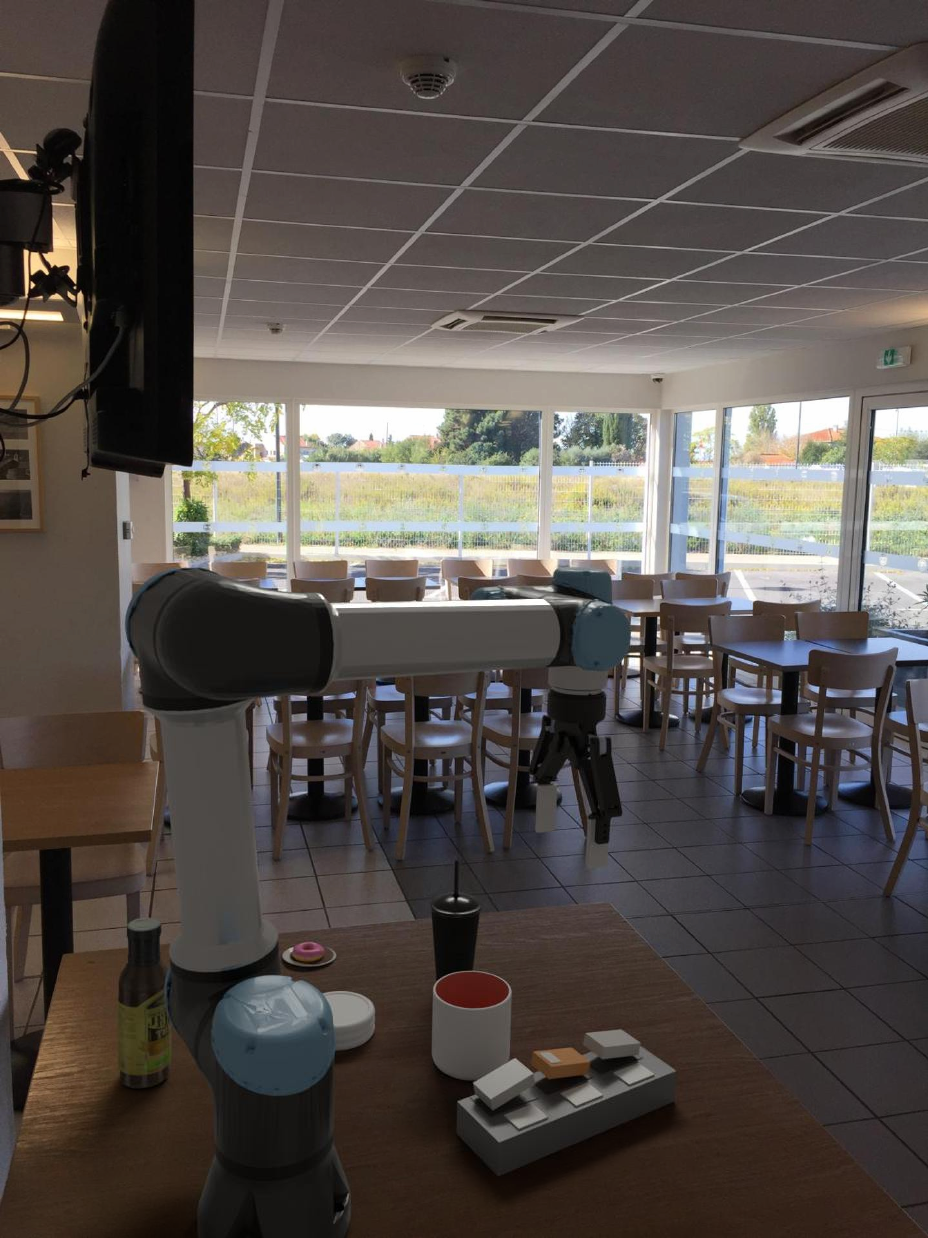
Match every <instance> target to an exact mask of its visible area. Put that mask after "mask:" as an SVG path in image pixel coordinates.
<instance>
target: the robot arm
mask: <svg viewBox="0 0 928 1238" xmlns="http://www.w3.org/2000/svg"><path fill="white" fill-rule="evenodd" d="M612 581H613V580H612V576H611V574H610V572H609V571H607V570H606V569H602V568H601V569H600V568H594V567H582V566H581V567H580V566H578V567H577V566H565V567H557V568H556V569H555V570H554V571H553V575H552V580H551V583H550V584H546V585H500V584H497V585H496V586H489V587H487V586H486V587H480V588H477V589H476V590H474V591H473V593H472V594H471V595H470V596H469V598H468V599H467V600H466V599H465V600H461V599H460V600H420V601H419V600H417V601H416V600H415V601H410V600H408V601H406V600H405V601H369V602H368V601H367V602H366V601H363V602H360V601H359V602H358V601H357V602H329V601H328V599H326V598H325V596H324V595H322V594H321V593H319V592H291V591H284V590H283V591H282V590H276V589H270V588H266V587H261V586H258V585H253V584H250V583H246V582H243V581H240V580H238V579H234V578H230V577H227V576H224V575H221V574H219V573H217V572H215V571H214V570H211V569H208V568H204V567H186V566H185V567H174V568H169V569H167V570H164V571H161V572H159V573H156V574H155V575H153V576H152V577H150V578H148V579H147V580H146V581H145V582H144V583H142V584H141V586H139V587H138V589H137V590H136V591H135V592H134V594H133V596H132V597H131V599H130V601H129V604H128V606H127V610H126V613H125V619H124V629H125V635H126V641H127V643H128V648H130V650H131V652H132V654H133V655H134V656H135V658H136V659H137V663H138V672H139V683H140V690H141V691H140V692H141V700H142V707H143V708H144V709H145V711H147V712H148V713H150V714H151V715H153V716H154V717H155V718H156V719H158V721H159V723H160V735H161V741H162V743H161V744H162V751H163V752H162V753H163V760H164V761H163V763H164V773H165V782H166V790H167V791H166V792H167V800H168V801H167V802H168V809H169V811H168V812H169V820H170V830H171V839H172V848H173V851H172V852H173V860H174V870H175V880H176V881H175V882H176V888H177V889H176V890H177V899H178V900H177V901H178V909H179V917H180V928H181V929H180V930H181V931H180V932H179V933H178V934H177V936H176V937H174V938H173V940H172V941H171V943H170V946H169V948H168V955H169V956H168V957H169V967H168V968H167V969H168V971H167V975H166V978H165V985H164V998H165V1004H166V1009H167V1013H168V1017H169V1019H170V1022H171V1027H172V1028H173V1029H174V1031H175V1032H176V1034H177V1035H178V1036H179V1037H180V1038H181V1040H182V1041H183V1042H184V1044H185V1046H186V1048H187V1049H188V1052H189V1053H190V1054H191V1056H192V1058H193V1060H194V1062H195V1063H196V1065H197V1067H198V1069H199V1070H200V1072H201V1073H202V1076H203V1078H204V1079H205V1081H206V1082H207V1084H208V1086H209V1088H210V1091H211V1093H212V1098H213V1107H214V1108H213V1109H214V1110H213V1112H214V1113H213V1116H214V1117H213V1118H214V1119H213V1120H214V1156H213V1159H212V1162H211V1165H210V1167H209V1171H208V1173H207V1175H206V1176H207V1177H206V1180H205V1182H204V1186H203V1188H202V1192H201V1195H200V1198H199V1200H198V1207H197V1217H196V1218H197V1219H196V1220H197V1238H345V1236H346V1234H347V1231H348V1230H349V1227H350V1223H351V1216H352V1215H351V1214H352V1213H351V1204H352V1203H351V1202H352V1201H351V1199H352V1197H351V1189H350V1186H349V1185H350V1184H349V1181H348V1180H347V1176H346V1174H345V1171H344V1169H343V1165H342V1163H341V1160H340V1156H339V1155H338V1151H337V1149H336V1146H335V1143H334V1123H335V1122H334V1115H335V1114H334V1112H335V1111H334V1110H335V1109H334V1107H335V1105H334V1104H335V1054H336V1051H335V1047H336V1033H335V1031H334V1025H333V1015H332V1010H331V1007H330V1005H329V1003H328V1001H327V999H326V998H325V996H324V995H323V993H322V992H321V991H320V990H319V989H318V988H317V987H315V986H314V985H312V984H311V983H309V982H307V981H305V980H302V979H300V980H297V981H294V978H293V977H292V976H287V975H283V974H282V965H281V955H280V954H281V953H280V943H279V934H278V930H277V927H275V925H273V924H272V923H271V922H269V921H267V920H266V919H265V918H263V911H262V910H263V909H262V907H263V906H262V900H261V899H262V897H261V888H260V887H261V885H260V874H259V864H258V862H259V861H258V850H257V840H256V829H255V828H256V827H255V818H254V816H255V814H254V805H253V793H252V782H251V781H252V780H251V771H250V770H251V769H250V758H249V746H248V734H247V733H248V732H247V725H246V723H247V722H246V710H247V709H248V707H249V706H250V705H251V704H252V702H253V701H254V700H255V699H264V698H276V697H285V696H296V695H306V694H320V693H322V692H324V691H326V690H327V688H328V687H329V686H330V685H331V684H332V683H333V682H339V681H342V682H343V681H351V680H352V681H354V680H355V681H356V680H369V679H370V680H371V679H383V678H384V679H387V678H400V677H416V676H427V675H429V676H432V675H444V674H461V673H475V672H476V673H477V672H490V671H503V670H504V671H506V670H520V669H521V670H523V669H535V668H536V669H537V668H538V669H539V668H548V679H547V681H548V682H547V684H548V685H549V687H550V686H551V687H550V688H549V689H548V690H547V701H546V702H547V704H546V714H543V715H542V716H541V717H542V719H541V729H540V731H539V736H538V738H537V741H536V744H535V748H534V750H533V753H532V757H531V760H530V763H529V766H528V773H529V775H530V776H534V777H533V778H534V783H535V784H536V804H535V805H536V806H535V822H534V823H535V827H534V831H535V832H536V833H537V834H539V833H546V832H547V833H548V832H556V820H557V801H558V800H557V799H558V784H557V783H556V782H559V779H558V777H557V776H558V774H559V773H560V771H561V769H562V768H563V766H564V765H565V763H566V761H567V760H568V761H570V762H571V763H572V766H573V768H574V769H575V770H577V771H578V773H579V777H580V780H581V783H582V787H583V789H584V792H585V795H586V799H587V803H588V806H589V808H590V813H589V814H588V816H587V825H586V826H587V828H586V830H587V831H586V844H585V845H586V848H585V865H584V866H585V868H587V869H589V870H590V869H596V868H597V869H598V868H603V867H604V868H605V867H608V862H609V861H608V859H609V858H608V857H609V856H608V855H609V843H610V838H611V837H610V835H611V833H610V832H611V820H612V818H620V817H622V816H623V808H622V807H623V806H622V803H621V797H620V791H619V786H618V781H617V776H616V771H615V766H614V761H613V757H612V756H613V755H612V752H613V751H612V739H611V736H609V735H608V736H607V735H605V736H598V732H597V725H598V724H600V723H601V722H603V721H604V720H606V719H605V718H606V713H607V698H608V697H607V696H608V695H607V693H606V691H605V690H604V689H606V687H607V686H608V671H610V670H612V669H614V668H615V667H617V666H618V665H620V663H622V661H623V660H624V659H625V658H626V656H627V654H628V651H629V649H630V646H631V638H632V636H631V635H632V628H631V624H630V620H629V619H628V617H627V615H626V613H625V612H624V611H623V609H621V608H619V607H618V606H616V605H614V603H613V583H612ZM539 764H540V765H539ZM552 782H553V783H552Z"/></svg>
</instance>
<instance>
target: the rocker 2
mask: <svg viewBox="0 0 928 1238" xmlns="http://www.w3.org/2000/svg"><path fill="white" fill-rule="evenodd" d="M582 1055H583V1054H581V1053H579V1052H578V1051H577V1050H576V1049H574V1048H573V1047H564V1048H563V1047H562V1048H553V1049H545V1050H535V1051H532V1056H531V1059H530V1065H531V1066H533V1068H535V1069H536V1070H537V1071H540V1072H541V1073H542V1074H543V1075H545V1076H546V1077H547V1078H548V1079H554V1078H562V1077H570V1076H577V1075H585V1074H588V1071H589V1067H590V1061H589V1060H587V1059H586V1058H585V1057H583V1056H582Z"/></svg>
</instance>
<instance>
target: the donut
mask: <svg viewBox="0 0 928 1238" xmlns="http://www.w3.org/2000/svg"><path fill="white" fill-rule="evenodd" d="M325 948H327V949H329V950H330V951H331V952H332V953H333V956H332V958H331V959H330V960H328V961H326V962H323V963H320V964H309V963H312V962H317V961H319V960H321V959H322V958H323V956H324V954H325ZM325 948H324V947H323V946H322V945H320V944H319V943H317V942H314V941H305V942H301V943H298V944H297V945H295V946H293V947H291V948H288V949H286V950H285V951H284V952H283V953H282V955H281V956H282V959H283V961H285V962H286V963H288V964H291V965H294V966H296V967H297V966H298V967H303V968H304V967H305V968H312V967H313V968H315V967H320V966H325V965H327V964H329V963H332V962H333V961H334V960H336V958H337V954H336V951H334V950H333V949H332V948H330V947H325ZM291 954H292V957H293V958H294V959H295V960H297V961H295V960H293V959H291V957H290V956H291Z"/></svg>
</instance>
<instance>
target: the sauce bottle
mask: <svg viewBox="0 0 928 1238" xmlns="http://www.w3.org/2000/svg"><path fill="white" fill-rule="evenodd" d="M162 932H163V931H162V922H161V920H159V919H157V918H154V917H140V918H136V919H133V920H132V921H130V922H129V923H128V924H127V926H126V937H127V941H128V948H127V949H128V952H127V953H128V954H127V963H126V964H125V966H124V968H123V969H122V970H121V972H120V976H119V978H118V983H117V984H118V996H117V1048H118V1049H117V1050H118V1051H117V1052H118V1053H117V1054H118V1055H117V1059H118V1060H117V1062H118V1063H117V1064H118V1069H119V1080H120V1082H121V1084H122V1085H123V1086H125V1087H128V1088H131V1089H144V1088H151V1087H154V1086H157V1085H158V1084H160V1083H161V1082H163V1081H165V1080H167V1078H168V1077H169V1075H170V1072H171V1071H170V1070H171V1064H170V1063H171V1061H172V1024H171V1022H170V1019H169V1017H168V1013H167V1009H166V1004H165V998H164V985H165V978H166V975H167V971H168V969H169V968H168V967H167V965H166V964H165V963H164V961H163V960H162V958H161V956H162V955H161V954H162V953H161V934H162Z"/></svg>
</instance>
